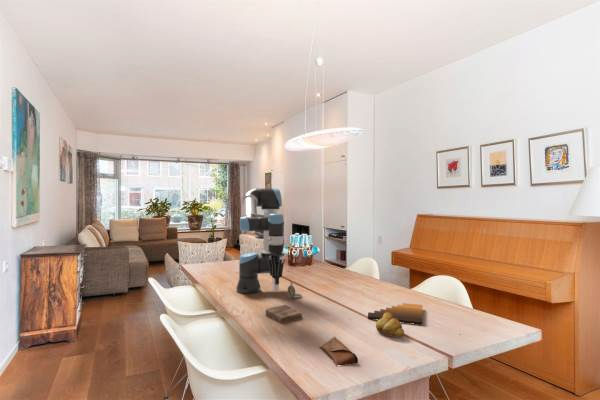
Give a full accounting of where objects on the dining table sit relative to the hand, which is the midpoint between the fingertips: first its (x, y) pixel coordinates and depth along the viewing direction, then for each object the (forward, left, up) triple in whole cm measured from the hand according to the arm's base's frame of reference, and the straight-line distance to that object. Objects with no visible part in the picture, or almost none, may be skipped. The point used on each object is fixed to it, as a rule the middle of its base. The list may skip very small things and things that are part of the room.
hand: (275, 290), depth 177 cm
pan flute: (+38, +48, -12) cm, 62 cm away
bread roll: (+52, +24, -12) cm, 59 cm away
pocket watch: (-16, +24, -12) cm, 31 cm away
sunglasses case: (+53, -7, -12) cm, 55 cm away
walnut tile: (0, 0, -10) cm, 10 cm away
